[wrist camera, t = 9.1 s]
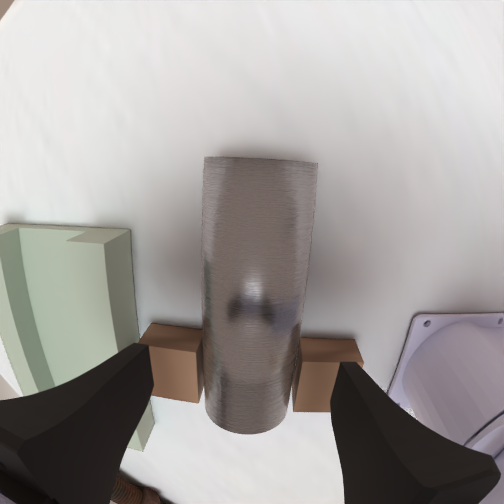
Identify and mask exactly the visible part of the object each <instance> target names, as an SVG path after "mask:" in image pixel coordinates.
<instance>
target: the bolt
mask: <svg viewBox="0 0 504 504" xmlns="http://www.w3.org/2000/svg"><path fill="white" fill-rule="evenodd" d="M110 500H112V501H113V502H115V503H117V504H164V503H162V502H161V501H160V500H159V497H158V494H157V493H156V492H155V491H153V490H151V489H150V488H148V487H139V488H136V487H135V486H133V485H131V484H130V483H128V482H126V481H125V480H123V479H121V478H120V477H119V476H117V477H116V480H115V484H114V487H113V491H112V495H111V499H110Z"/></svg>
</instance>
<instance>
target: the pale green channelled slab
mask: <svg viewBox="0 0 504 504" xmlns="http://www.w3.org/2000/svg"><path fill="white" fill-rule="evenodd" d="M0 336H1V339H2V342H3V345H4V348H5V351H6V353H7V356H8V359H9V362H10V364H11V367H12V369H13V372H14V374H15V377H16V379H17V382H18V384H19V386H20V389H21V391H22V393H23V396H28V395H32V394H35V393H38V392H41V391H44V390H48V389H51V388H53V387H56V386H58V385H61V384H63V383H65V382H68V381H70V380H72V379H74V378H76V377H78V376H80V375H82V374H83V373H85V372H87V371H89V370H91V369H92V368H94V367H96V366H98V365H99V364H101V363H102V362H104V361H106V360H107V359H109V358H110V357H112V356H113V355H115V354H117V353H118V352H120V351H121V350H123V349H124V348H126V347H128V346H129V345H131V344H133V343H138V342H139V340H140V338H139V330H138V322H137V314H136V304H135V294H134V283H133V270H132V255H131V235H130V229H112V228H93V227H74V226H53V225H30V224H4V225H1V226H0ZM154 424H155V423H154V419H153V414H152V409H151V404H150V400H149V403H148V406H147V408H146V410H145V412H144V414H143V416H142V418H141V420H140V422H139V424H138V426H137V428H136V430H135V432H134V434H133V436H132V438H131V440H130V442H129V444H128V446H127V448H131V449H134V450H138V451H142V452H143V450H144V448H145V446H146V443H147V441H148V438H149V436H150V434H151V431H152V429H153V427H154Z"/></svg>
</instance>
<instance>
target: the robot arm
mask: <svg viewBox="0 0 504 504" xmlns="http://www.w3.org/2000/svg"><path fill="white" fill-rule="evenodd" d="M427 320H428V322H427V323H426V324H424V323H425V322H426V321H427ZM153 388H154V380H153V373H152V366H151V359H150V352H149V345H146V344H140V343H133V344H131V345H129V346H128V347H126V348H124V349H123V350H121V351H120V352H118V353H117V354H115V355H113V356H112V357H110V358H109V359H107V360H106V361H104V362H102V363H101V364H99V365H98V366H96V367H94V368H92V369H91V370H89V371H87V372H85V373H83V374H82V375H80V376H78V377H76V378H74V379H72V380H70V381H68V382H65V383H63V384H61V385H58V386H56V387H53V388H51V389H48V390H44V391H41V392H38V393H35V394H32V395H28V396H23V397H19V398H14V399H8V400H0V504H109V503H110V499H111V495H112V491H113V487H114V484H115V480H116V477H117V473H118V470H119V467H120V464H121V461H122V458H123V455H124V453H125V451H126V448H127V446H128V444H129V442H130V440H131V438H132V436H133V434H134V432H135V430H136V428H137V426H138V424H139V422H140V420H141V418H142V416H143V414H144V412H145V410H146V408H147V406H148V403H149V400H150V397H151V394H152V391H153ZM403 408H412V409H413V411H414V414H415V416H416V418H417V420H416V419H415V418H414V417H412V416H411V415H410V414H408V413H407V412H406V411H405V410H404V409H403ZM330 409H331V421H332V427H333V431H334V436H335V441H336V445H337V450H338V454H339V459H340V463H341V468H342V475H343V484H344V500H345V504H504V313H485V314H420V315H417V316H416V317H415V318H414V319H413V321H412V324H411V328H410V331H409V334H408V337H407V341H406V344H405V347H404V350H403V353H402V356H401V359H400V362H399V365H398V368H397V370H396V373H395V376H394V379H393V381H392V384H391V387H390V389H389V392H388V394H386V393H385V392H384V391H383V390H382V389H381V388H380V387H379V386H378V385H377V384H376V383H375V382H374V381H373V379H372V378H371V377H370V376H369V375H368V374H367V373H366V372H365V371H364V370H363V369H362V368H361V366H360V365H359V364H358V363H357V362H340V365H339V369H338V373H337V377H336V380H335V384H334V388H333V391H332V395H331V399H330Z"/></svg>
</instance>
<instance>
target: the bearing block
mask: <svg viewBox="0 0 504 504" xmlns="http://www.w3.org/2000/svg"><path fill="white" fill-rule="evenodd" d="M138 343H140V344H146V345H149V352H150V359H151V366H152V373H153V380H154V388H153V391H152V394H151V395H152V396H157V397H163V398H168V399H174V400H180V401H186V402H192V403H199V401H200V397H201V394H202V391H203V387H204V365H203V331H202V330H201V329H193V328H184V327H176V326H169V325H161V324H154V323H151V324H150V326H149V327H148V329H147V330H146V332H145V333H144V334H143V336H142V337H141V339H140V340H139V342H138ZM340 362H357V363H358V364H359V365H360V366H361V368H362V367H363V364H364V362H363V359H362V357H361V354H360V352H359V349H358V347H357V344H356V342H355V339H321V338H300V339H299V346H298V352H297V358H296V365H295V371H294V377H293V382H292V399H293V412H331V409H330V399H331V395H332V391H333V388H334V384H335V380H336V377H337V373H338V369H339V365H340Z"/></svg>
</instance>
